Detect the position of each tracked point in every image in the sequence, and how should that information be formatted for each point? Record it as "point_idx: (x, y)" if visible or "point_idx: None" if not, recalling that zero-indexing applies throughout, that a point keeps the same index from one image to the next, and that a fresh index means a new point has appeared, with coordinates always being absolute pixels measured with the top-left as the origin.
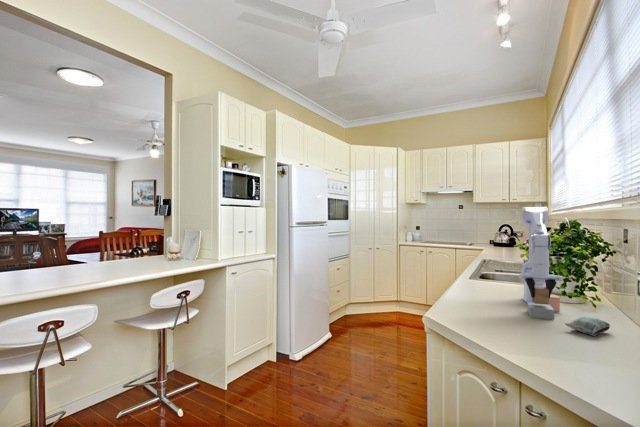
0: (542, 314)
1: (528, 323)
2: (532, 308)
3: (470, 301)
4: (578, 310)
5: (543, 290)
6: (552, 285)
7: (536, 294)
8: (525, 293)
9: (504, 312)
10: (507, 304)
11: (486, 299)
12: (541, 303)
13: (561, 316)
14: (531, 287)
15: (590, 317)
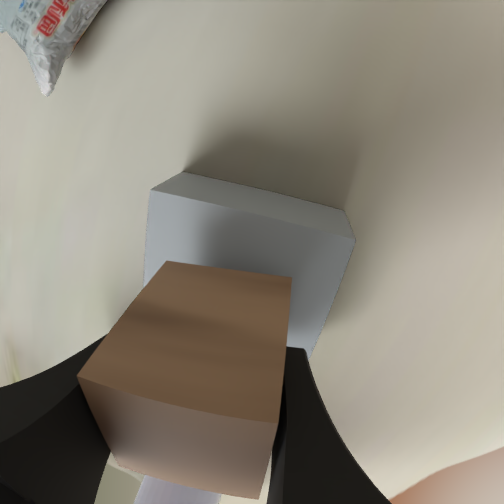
0: (254, 197)
1: (422, 34)
2: (333, 230)
3: (494, 423)
4: (47, 363)
5: (154, 379)
6: (1, 405)
7: (272, 347)
8: (220, 497)
9: (468, 284)
10: (347, 431)
11: (401, 466)
12: (231, 272)
13: (117, 262)
14: (336, 449)
15: (10, 15)
